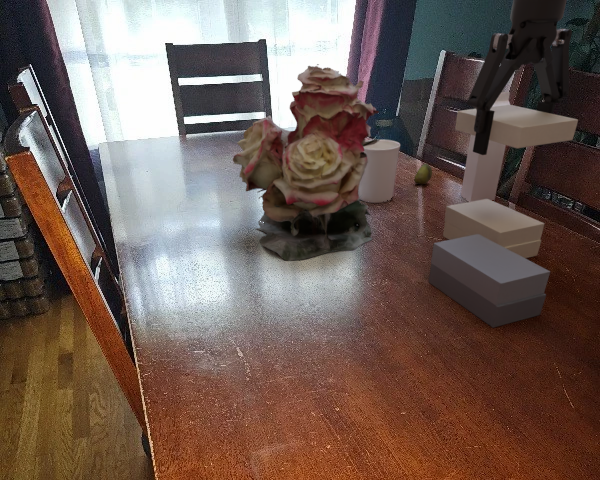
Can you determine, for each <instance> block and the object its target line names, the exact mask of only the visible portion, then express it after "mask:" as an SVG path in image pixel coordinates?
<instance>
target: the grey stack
mask: <svg viewBox="0 0 600 480" xmlns="http://www.w3.org/2000/svg"><path fill="white" fill-rule="evenodd" d="M550 275H551V270H549V269H547V268H545V267H543V266H541V265H539V264H537V263H535V262H533V261H531V260H530V259H528V258H523V257H522V256H520V255H518V254H516V253H514V252H512V251H510V250H508V249H506V248H504V247H502V246H500V245H499V244H497V243H495V242H493V241H491V240H489V239H487V238H485V237H483V236H481V235H479V234H475V235H471V236H466V237H461V238H456V239H451V240H449V239H446V240H441V241H437V242H433V246H432V252H431V260H430V269H429V278H428V284H431V285H432V286H433V287H434V288H436V289H437V290H439V291H440V292H442V293H443V294H444V295H446V296H447V297H449V298H450V299H451V300H453V301H455V302H456V303H457V304H458V305H460V306H461V307H463V308H464V309H466V310H467V311H468V312H470V313H471V314H473V315H474V316H475V317H477V318H478V319H480V320H482V321H483V322H484V323H486V324H487V325H488V326H489V327H491V328H493V329H494V328H496V327H501V326H505V325H508V324H512V323H516V322H519V321H523V320H526V319H530V318H534V317H538V316H541V314H542V310H543V306H544V304H545V300H546V297H547V294H546V293H545V291H546V287H547V285H548V281H549V277H550Z"/></svg>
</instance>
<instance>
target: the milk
mask: <svg viewBox="0 0 600 480" xmlns="http://www.w3.org/2000/svg"><path fill="white" fill-rule="evenodd" d="M510 94H511V93H510V91H506V92H504V91H502V92H501V94H500V95H499V97H498V98H497V100H496V101H495V103H494V104H493V106H492V107H495V106H503V105H511V103H510V101H509V100H510V96H511V95H510ZM474 109H476V108H474ZM474 141H475V136H474V135H471V134H470V136H469V142H468V148H467V155H466V161H465V165H464V166H465V168H464V173H463V180H462V186H461V191H460V197H461V198H463V199H464V200H465V201H467V202H469V201H470V202H472V201H477V200H483V199H489V200H494V201H495V199H496V194H497V189H498V184H499V179H500V176H501V171H502V166H503V161H504V156H505V152H506V146H507V145H504V144H501V143H497V142H494V141H491V140H489V144H488V149H487V154H486V155H481V154H478V153H475V152H473V147H474ZM465 198H466V199H465ZM468 200H469V201H468Z"/></svg>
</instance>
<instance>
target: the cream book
mask: <svg viewBox="0 0 600 480" xmlns="http://www.w3.org/2000/svg"><path fill="white" fill-rule="evenodd" d="M490 110H492V111H495V112H494V117H493V122H492V127H491V133H490V138H489V140H491V141H494V142H497V143H501V144H504V145H506V146H507V147H510V148H514V149H522V148H529V147H537V146H536V145H543V146H544V145H549V144H555V143H561V142H569V141H573V140H574V137H575V133H576V130H577V126H578V122H579V119H577V118H574V117H570V116H569V117H568V116H563V115H559V114H555V113H553V114H550V113H546V112H541V111H537V109H531V108H527V107H522V106H517V105H515V104H514V105H513V104H510V105H503V106H495V107H491V109H490ZM476 113H477V110H476V109H475V108H470V109H464V110H463V109H462V110H458V111H457V115H456V121H455V127H454V130H455V131H458V132H461V133H466V134H468V135H470V136H471V135H474V136H475V135H476V132H475V131H474V125H475V119H476Z"/></svg>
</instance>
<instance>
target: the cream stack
mask: <svg viewBox="0 0 600 480" xmlns="http://www.w3.org/2000/svg"><path fill="white" fill-rule="evenodd" d="M444 214H445V215H444V220H443V221H444V227H443V233H442V237H444V238H446V240H451V239H456V238H461V237H466V236H471V235H475V234H479V235H481V236H483V237H485V238H487V239H489V240H491V241H493V242H495V243H497V244H499V245H500V246H502V247H504V248H506V249H508V250H510V251H512V252H514V253H516V254H518V255H520V256H522V257H523V258H525V259H528V258H532V257H536V256H538V255H539V254H538V253H539V251H540V247H541V243H542V239H541V238H542V234H543V231H544V227H545V222H542V221H540V220H538V219H535V218H533V217H530V216H528V215H526V214H525V213H521V212H519V211H517V210H514V209H513V208H510V207H508V206H505V205H503V204H501V203H499V202H496V201H495V200H494V201H492V200H489V199H483V200H477V201H472V202H468V201H467V202H461V203H455V204H450V205H446V208H445V212H444Z"/></svg>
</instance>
